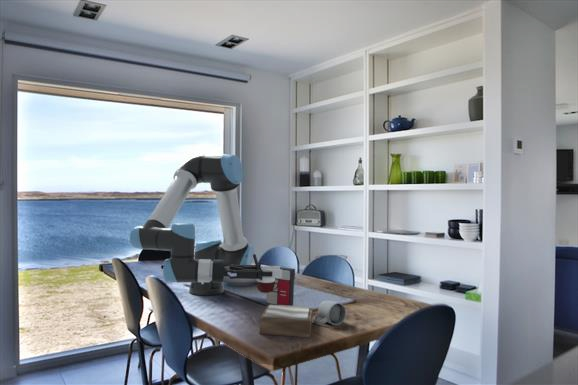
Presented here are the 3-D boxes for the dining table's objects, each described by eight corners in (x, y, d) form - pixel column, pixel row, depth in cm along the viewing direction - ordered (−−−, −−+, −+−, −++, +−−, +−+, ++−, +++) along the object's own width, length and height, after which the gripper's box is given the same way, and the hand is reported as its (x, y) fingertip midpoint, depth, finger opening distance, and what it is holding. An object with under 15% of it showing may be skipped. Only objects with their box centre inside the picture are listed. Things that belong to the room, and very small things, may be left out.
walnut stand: (267, 319, 147) (267, 303, 147) (311, 322, 145) (312, 306, 145) (259, 333, 131) (260, 316, 131) (309, 337, 129) (310, 319, 130)
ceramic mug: (332, 317, 152) (332, 296, 152) (346, 324, 145) (346, 302, 145) (308, 321, 146) (308, 300, 147) (321, 328, 139) (321, 305, 139)
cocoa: (280, 293, 139) (283, 258, 139) (266, 295, 134) (270, 258, 134) (261, 287, 145) (264, 253, 145) (247, 289, 140) (251, 254, 141)
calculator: (265, 304, 168) (266, 267, 168) (270, 301, 172) (271, 265, 172) (289, 308, 163) (290, 270, 163) (293, 305, 167) (295, 268, 167)
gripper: (212, 276, 147) (277, 277, 150) (209, 288, 128) (283, 289, 131) (213, 255, 147) (278, 256, 150) (210, 264, 128) (284, 265, 131)
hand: (280, 271), depth 140 cm, fingers closed on cocoa, 6 cm apart
